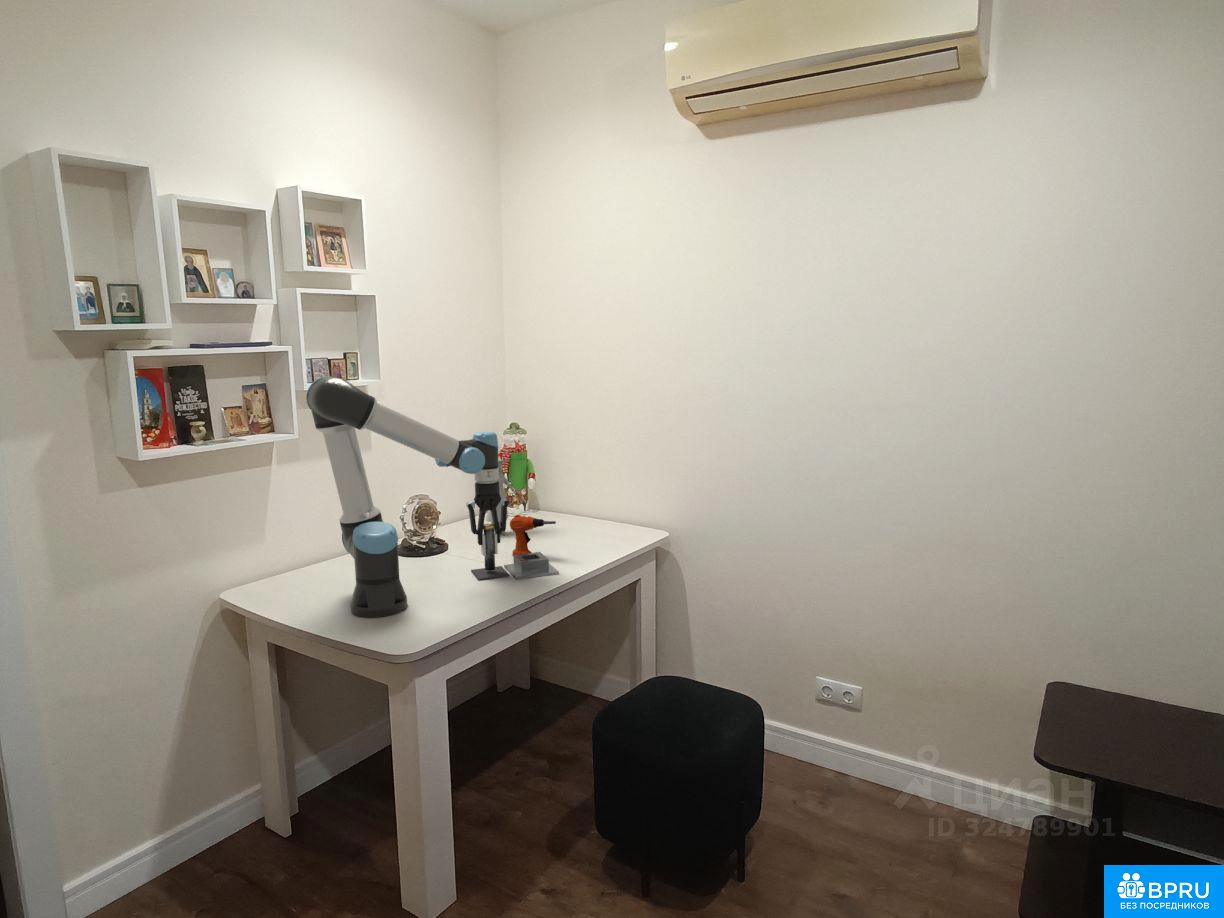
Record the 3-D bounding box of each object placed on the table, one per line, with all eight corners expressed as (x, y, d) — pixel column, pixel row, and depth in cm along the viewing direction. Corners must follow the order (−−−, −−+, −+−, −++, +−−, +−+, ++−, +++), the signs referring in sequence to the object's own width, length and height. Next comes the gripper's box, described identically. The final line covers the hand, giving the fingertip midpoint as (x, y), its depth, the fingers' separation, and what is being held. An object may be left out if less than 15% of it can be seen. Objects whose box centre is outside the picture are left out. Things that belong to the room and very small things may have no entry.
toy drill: (556, 559, 253) (550, 515, 251) (510, 559, 261) (504, 516, 260) (563, 555, 257) (558, 512, 255) (518, 555, 266) (512, 513, 264)
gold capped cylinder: (485, 571, 240) (484, 527, 238) (482, 568, 243) (481, 524, 241) (497, 569, 241) (495, 525, 239) (494, 566, 245) (492, 523, 242)
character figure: (490, 541, 280) (487, 461, 275) (475, 538, 285) (472, 459, 280) (522, 532, 293) (520, 455, 288) (507, 529, 298) (505, 453, 293)
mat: (478, 580, 236) (478, 578, 236) (471, 571, 245) (471, 569, 245) (509, 576, 240) (509, 574, 240) (501, 567, 249) (501, 565, 249)
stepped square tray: (516, 579, 237) (515, 565, 236) (504, 567, 250) (503, 554, 249) (558, 573, 242) (558, 560, 242) (544, 562, 255) (544, 549, 254)
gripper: (463, 485, 231) (466, 560, 235) (515, 481, 238) (517, 553, 241) (458, 481, 238) (461, 553, 242) (508, 477, 244) (511, 547, 248)
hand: (489, 553), depth 242 cm, fingers closed on gold capped cylinder, 3 cm apart
